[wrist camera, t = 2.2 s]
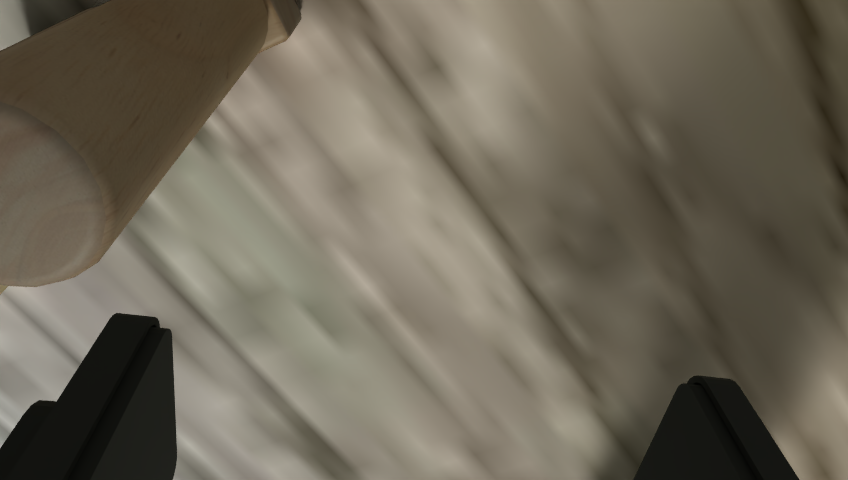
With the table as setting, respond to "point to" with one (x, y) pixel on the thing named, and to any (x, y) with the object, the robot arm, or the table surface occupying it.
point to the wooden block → (111, 118)
